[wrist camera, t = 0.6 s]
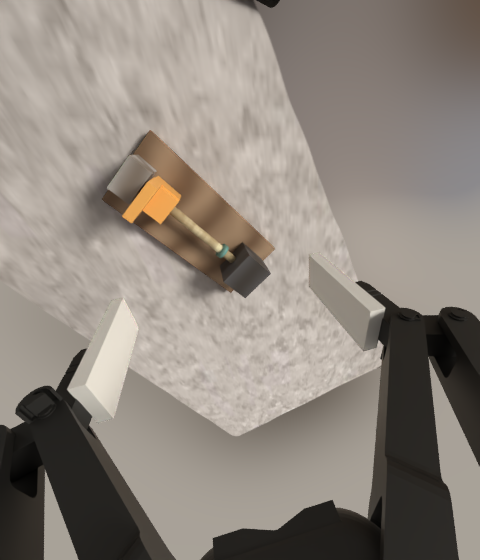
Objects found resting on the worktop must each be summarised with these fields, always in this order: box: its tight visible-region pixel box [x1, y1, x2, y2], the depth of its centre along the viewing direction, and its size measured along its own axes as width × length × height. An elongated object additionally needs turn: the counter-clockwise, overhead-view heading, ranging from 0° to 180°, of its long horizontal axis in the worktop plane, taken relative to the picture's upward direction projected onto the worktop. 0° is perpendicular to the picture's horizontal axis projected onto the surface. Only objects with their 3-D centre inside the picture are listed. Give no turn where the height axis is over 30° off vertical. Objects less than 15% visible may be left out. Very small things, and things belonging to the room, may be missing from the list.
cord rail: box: [102, 130, 275, 298], centre depth 36 cm, size 26×12×8 cm, turn 46°
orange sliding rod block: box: [122, 176, 181, 224], centre depth 31 cm, size 4×5×10 cm
